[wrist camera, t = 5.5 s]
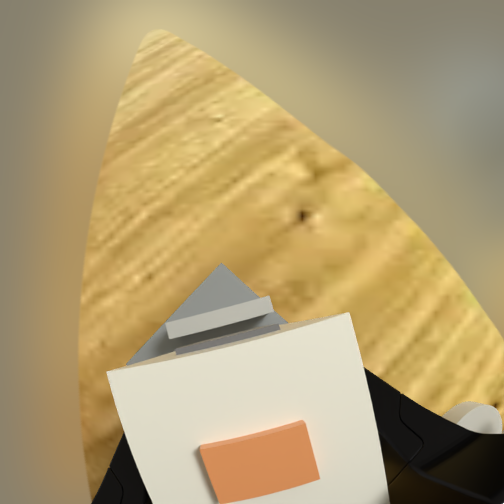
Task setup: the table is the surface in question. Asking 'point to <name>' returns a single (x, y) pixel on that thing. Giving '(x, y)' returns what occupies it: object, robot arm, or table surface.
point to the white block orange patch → (255, 419)
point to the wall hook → (476, 417)
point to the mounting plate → (204, 303)
